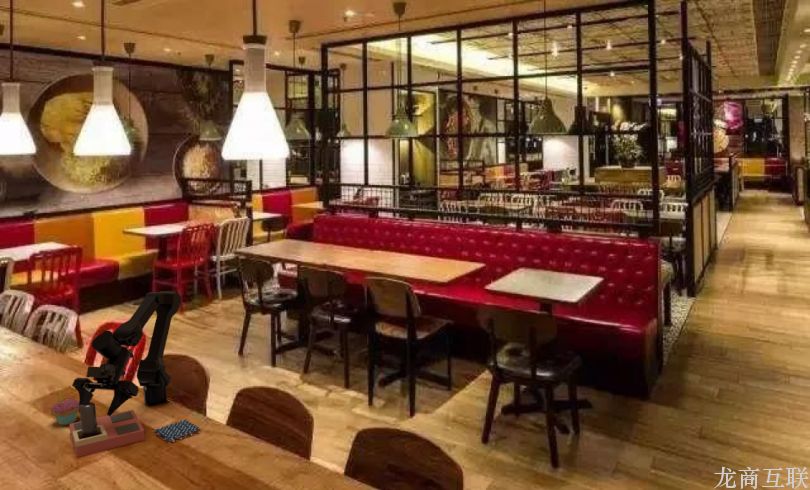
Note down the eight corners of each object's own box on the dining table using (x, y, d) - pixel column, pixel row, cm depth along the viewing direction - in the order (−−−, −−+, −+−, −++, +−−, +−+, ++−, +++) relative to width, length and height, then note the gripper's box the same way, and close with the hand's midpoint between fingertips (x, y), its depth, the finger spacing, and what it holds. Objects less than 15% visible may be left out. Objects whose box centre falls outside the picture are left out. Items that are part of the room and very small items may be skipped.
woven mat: (152, 435, 185) (152, 429, 184) (185, 424, 192) (185, 418, 192) (168, 446, 178) (167, 440, 177) (202, 434, 185) (201, 428, 185)
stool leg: (100, 443, 179) (97, 401, 177) (95, 450, 175) (91, 407, 173) (86, 444, 178) (82, 402, 176) (81, 451, 174) (77, 408, 172)
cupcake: (68, 428, 189) (65, 391, 187) (45, 426, 191) (41, 390, 189) (88, 416, 197) (85, 381, 195) (65, 415, 199) (62, 380, 197)
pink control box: (133, 418, 196) (132, 405, 195) (145, 439, 181) (144, 425, 180) (70, 433, 186) (69, 419, 185) (77, 456, 171) (75, 441, 170)
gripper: (73, 352, 182) (49, 402, 173) (129, 355, 179) (108, 406, 170) (93, 367, 191) (71, 416, 182) (147, 370, 187) (128, 420, 178)
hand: (94, 414), depth 178 cm, fingers open, 9 cm apart
